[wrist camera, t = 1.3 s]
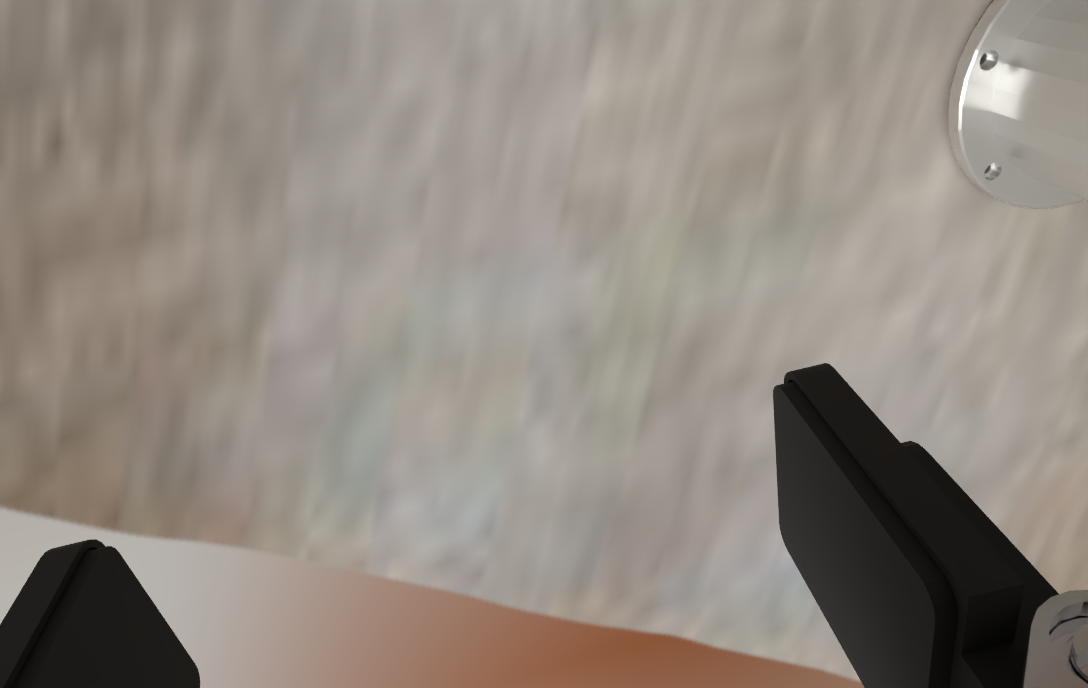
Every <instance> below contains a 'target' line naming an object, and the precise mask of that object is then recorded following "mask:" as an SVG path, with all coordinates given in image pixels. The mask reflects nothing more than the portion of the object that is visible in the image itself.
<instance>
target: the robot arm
mask: <svg viewBox="0 0 1088 688" xmlns="http://www.w3.org/2000/svg"><path fill="white" fill-rule="evenodd" d="M948 126H949V138H950V142H951V145H952V149H953V152H954V156H955V159H956V160H957V162H958V164H959V166H960V167H961V169H962V171H963V173H964V174H965V176H966V177H967V178H968V179H969V180H970V181H971V182H972V183H973V184H974V185H975V186H976V187H977V188H978V189H980V190H982V191H983V192H985V193H987V194H989V195H990V196H992V197H994V198H996V199H998V200H1000V201H1003V202H1005V203H1008V204H1010V205H1012V206H1016V207H1023V208H1029V209H1045V208H1057V207H1061V206H1065V205H1069V204H1073V203H1077V202H1080V201H1082V200H1085V201H1087V202H1088V0H994V1H993V2H992V3H991V4H990V6H989V7H988V8H987V10H986V11H985V13H984V14H983V16H982V18H981V19H980V21H979V22H978V24H977V25H976V27H975V29H974V30H973V32H972V33H971V35H970V37H969V40H968V42H967V44H966V46H965V48H964V51H963V53H962V55H961V57H960V59H959V62H958V65H957V69H956V72H955V75H954V79H953V82H952V86H951V91H950V99H949V108H948ZM773 401H774V422H775V443H776V464H777V485H778V507H779V524H780V530H781V534H782V538H783V541H784V543H785V546H786V548H787V550H788V552H789V554H790V555H791V557H792V559H793V561H794V563H795V564H796V566H797V568H798V570H799V571H800V573H801V575H802V577H803V579H804V580H805V582H806V584H807V586H808V587H809V589H810V591H811V593H812V595H813V596H814V598H815V600H816V602H817V603H818V605H819V607H820V609H821V611H822V612H823V614H824V616H825V618H826V620H827V621H828V623H829V625H830V627H831V628H832V630H833V632H834V634H835V636H836V637H837V639H838V641H839V643H840V644H841V646H842V648H843V650H844V652H845V653H846V655H847V657H848V659H849V660H850V662H851V664H852V666H853V668H854V669H855V671H856V673H857V675H858V676H859V678H860V680H861V682H862V684H863V685H864V687H865V688H1088V590H1076V591H1068V592H1065V593H1062V594H1058V593H1057V591H1056V590H1055V589H1054V588H1053V587H1052V586H1051V585H1050V584H1049V583H1048V582H1047V581H1046V580H1045V578H1044V577H1043V576H1042V575H1041V574H1040V573H1039V572H1038V571H1037V570H1036V569H1035V568H1034V567H1033V565H1032V564H1031V563H1030V562H1029V561H1028V560H1027V559H1026V558H1025V557H1024V556H1023V555H1022V554H1021V552H1020V551H1019V550H1018V549H1017V548H1016V547H1015V546H1014V545H1013V544H1012V543H1011V542H1010V541H1009V539H1008V538H1007V537H1006V536H1005V535H1004V534H1003V533H1002V532H1001V531H1000V530H999V529H998V528H997V526H996V525H995V524H994V523H993V522H992V521H991V520H990V519H989V518H988V517H987V516H986V515H985V514H984V512H983V511H982V510H981V509H980V508H979V507H978V506H977V505H976V504H975V503H974V502H973V501H972V499H971V498H970V497H969V496H968V495H967V494H966V493H965V492H964V491H963V490H962V489H961V488H960V486H959V485H958V484H957V483H956V482H955V481H954V480H953V479H952V478H951V477H950V476H949V475H948V473H947V472H946V471H945V470H944V469H943V468H942V467H941V466H940V465H939V464H938V463H937V462H936V460H935V459H934V458H933V457H932V456H931V455H930V454H929V453H928V452H927V451H926V450H925V449H924V448H923V447H921V446H920V445H919V444H918V443H915V442H912V441H908V442H904V443H900V442H899V441H898V440H897V439H896V437H895V436H894V435H893V434H892V433H891V432H890V431H889V430H888V428H887V427H886V426H885V425H884V424H883V423H882V422H881V421H880V419H879V418H878V417H877V416H876V415H875V414H874V413H873V412H872V410H871V409H870V408H869V407H868V406H867V405H866V404H865V403H864V401H863V400H862V399H861V398H860V397H859V396H858V395H857V394H856V392H855V391H854V390H853V389H852V388H851V387H850V386H849V385H848V383H847V382H846V381H845V380H844V379H843V378H842V377H841V376H840V374H839V373H838V372H837V371H836V370H835V369H834V368H833V367H832V366H831V365H830V364H827V363H824V364H820V365H816V366H811V367H807V368H803V369H799V370H795V371H791V372H788V373H786V375H785V378H784V384H781V385H777V386H775V387H774V390H773ZM0 688H200V676H199V672H198V669H197V667H196V665H195V663H194V662H193V660H192V659H191V657H190V656H189V654H188V653H187V651H186V650H185V649H184V647H183V645H182V644H181V643H180V641H179V640H178V638H177V637H176V636H175V634H174V632H173V631H172V629H171V628H170V626H169V625H168V624H167V622H166V621H165V619H164V618H163V616H162V615H161V613H160V612H159V610H158V609H157V607H156V606H155V604H154V603H153V601H152V600H151V599H150V597H149V596H148V594H147V593H146V591H145V590H144V589H143V587H142V586H141V584H140V582H139V581H138V580H137V578H136V577H135V575H134V574H133V572H132V571H131V570H130V568H129V566H128V565H127V563H126V562H125V560H124V559H123V558H122V556H121V555H120V553H119V552H118V551H117V550H116V549H115V548H113V547H111V546H107V547H105V546H104V545H103V544H102V542H99V541H98V540H87V541H82V542H78V543H74V544H70V545H65V546H61V547H57V548H53V549H50V550H48V551H47V552H45V553H44V555H43V556H42V557H41V558H40V560H39V561H38V563H37V565H36V567H35V568H34V570H33V571H32V573H31V575H30V577H29V578H28V580H27V581H26V583H25V585H24V586H23V588H22V590H21V591H20V593H19V595H18V596H17V598H16V600H15V601H14V603H13V604H12V606H11V608H10V610H9V611H8V613H7V614H6V616H5V618H4V619H3V621H2V623H1V625H0Z"/></svg>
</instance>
